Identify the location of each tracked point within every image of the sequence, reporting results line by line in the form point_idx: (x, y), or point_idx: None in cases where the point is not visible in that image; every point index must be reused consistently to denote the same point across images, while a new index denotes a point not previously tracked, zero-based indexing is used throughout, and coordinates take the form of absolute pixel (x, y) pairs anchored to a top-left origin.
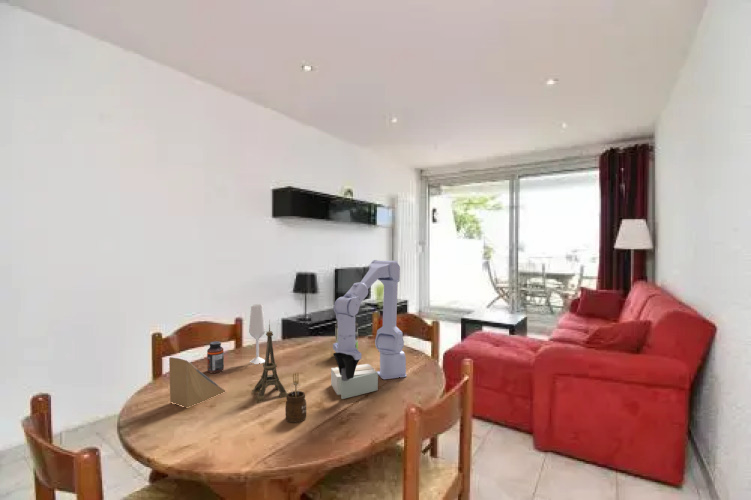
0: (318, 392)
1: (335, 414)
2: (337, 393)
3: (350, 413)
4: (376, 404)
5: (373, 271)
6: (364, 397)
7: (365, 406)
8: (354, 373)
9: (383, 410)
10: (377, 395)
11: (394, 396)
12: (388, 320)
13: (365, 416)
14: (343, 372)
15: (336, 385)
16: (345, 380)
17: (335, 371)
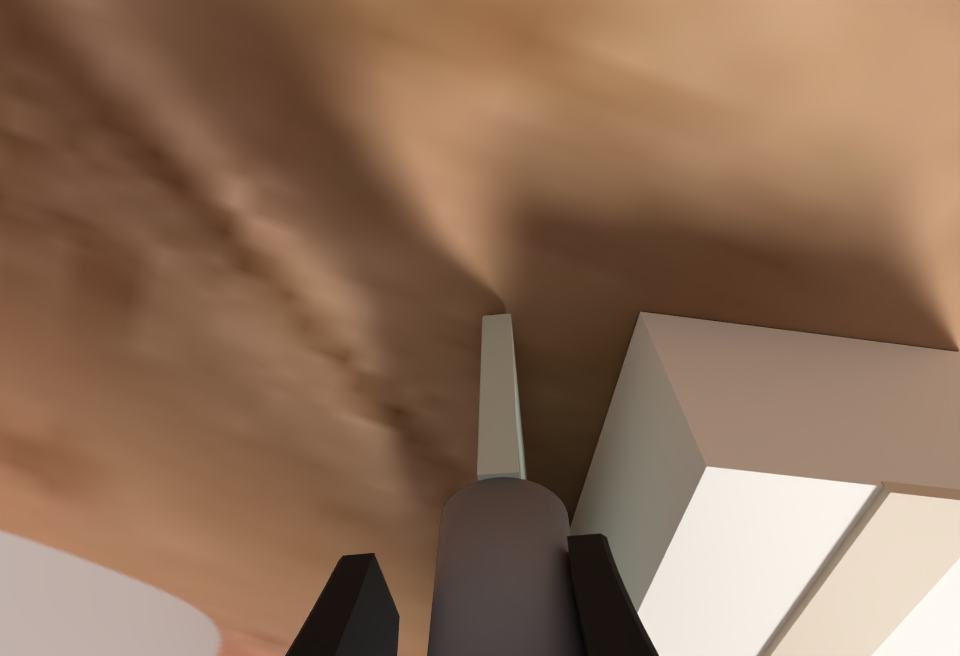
0: (882, 135)
1: (126, 107)
2: (642, 322)
3: (126, 266)
4: (270, 506)
5: None
6: (447, 487)
7: (255, 430)
8: (681, 651)
9: (142, 504)
10: None
11: None
12: None
13: (39, 358)
14: (453, 618)
15: (712, 375)
16: (444, 510)
17: (942, 520)
